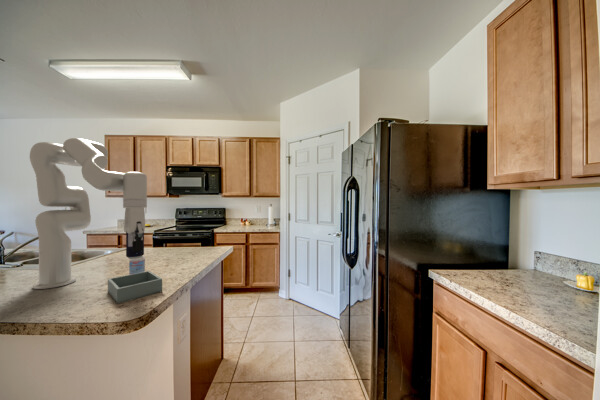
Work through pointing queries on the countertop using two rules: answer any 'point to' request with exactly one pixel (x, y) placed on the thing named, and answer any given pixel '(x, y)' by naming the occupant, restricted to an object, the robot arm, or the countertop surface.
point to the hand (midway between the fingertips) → (135, 249)
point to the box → (134, 286)
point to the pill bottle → (137, 265)
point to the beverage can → (129, 252)
